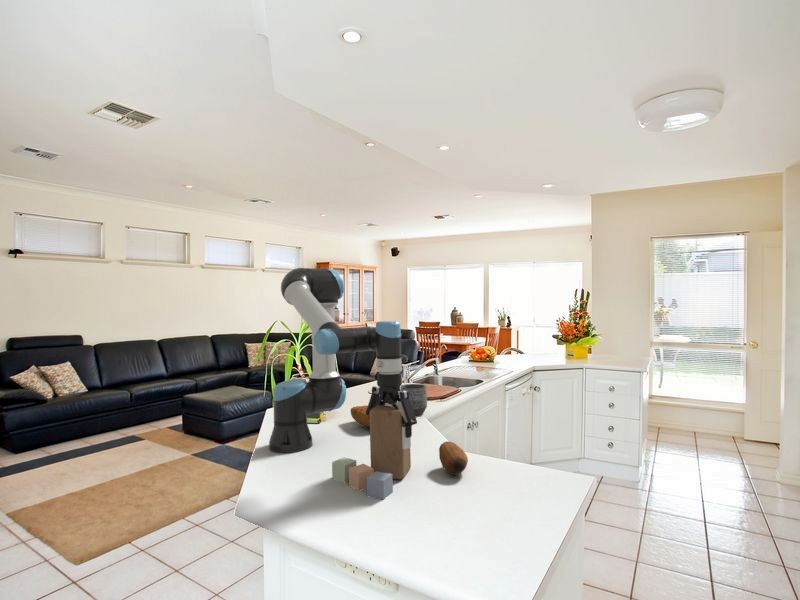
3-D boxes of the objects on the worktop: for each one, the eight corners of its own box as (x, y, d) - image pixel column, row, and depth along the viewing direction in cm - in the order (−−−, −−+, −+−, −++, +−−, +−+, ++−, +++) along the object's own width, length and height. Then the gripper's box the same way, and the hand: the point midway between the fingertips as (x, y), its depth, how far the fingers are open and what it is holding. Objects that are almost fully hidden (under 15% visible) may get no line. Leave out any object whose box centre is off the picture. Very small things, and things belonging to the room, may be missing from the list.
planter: (427, 416, 199) (427, 388, 199) (400, 417, 199) (400, 388, 200) (426, 410, 211) (426, 383, 212) (400, 410, 212) (400, 383, 212)
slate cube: (367, 496, 118) (366, 477, 118) (376, 489, 122) (376, 471, 122) (383, 500, 115) (383, 480, 115) (392, 492, 120) (392, 474, 120)
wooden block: (402, 481, 127) (401, 411, 127) (369, 478, 130) (368, 409, 130) (411, 468, 137) (409, 403, 137) (380, 466, 139) (379, 402, 140)
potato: (463, 488, 129) (442, 477, 126) (448, 462, 142) (429, 451, 139) (478, 468, 128) (458, 456, 126) (462, 443, 141) (443, 432, 139)
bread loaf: (405, 429, 181) (405, 409, 181) (366, 435, 173) (365, 414, 173) (383, 417, 200) (383, 399, 201) (347, 422, 193) (347, 403, 193)
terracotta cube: (349, 485, 125) (348, 467, 125) (363, 481, 128) (363, 463, 128) (358, 491, 121) (358, 472, 121) (373, 486, 124) (373, 468, 124)
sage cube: (332, 479, 130) (332, 461, 130) (344, 473, 134) (344, 457, 134) (344, 483, 127) (344, 465, 127) (356, 477, 131) (356, 460, 131)
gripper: (354, 370, 140) (355, 437, 140) (409, 378, 122) (411, 455, 122) (372, 367, 145) (373, 432, 145) (428, 374, 127) (429, 449, 127)
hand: (390, 443), depth 133 cm, fingers closed on wooden block, 13 cm apart
